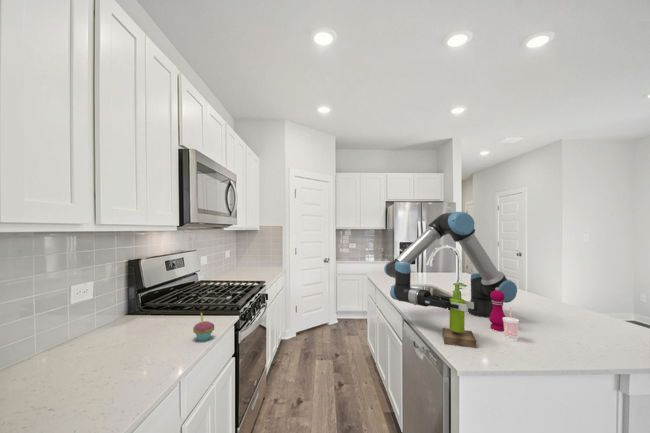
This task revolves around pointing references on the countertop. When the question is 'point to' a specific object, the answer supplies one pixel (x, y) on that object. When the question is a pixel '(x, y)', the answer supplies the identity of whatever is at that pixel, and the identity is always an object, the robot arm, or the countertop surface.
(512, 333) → the beverage cup
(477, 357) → the countertop surface
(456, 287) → the soap dispenser
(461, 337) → the plinth
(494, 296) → the pepper mill
